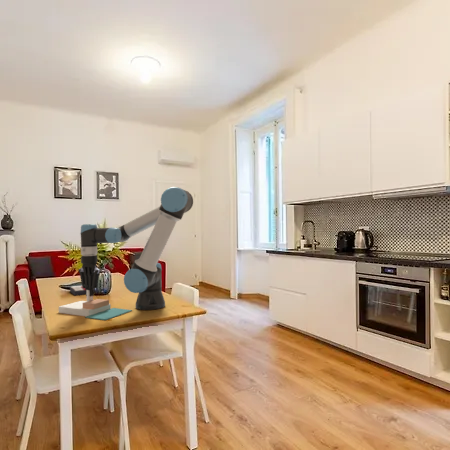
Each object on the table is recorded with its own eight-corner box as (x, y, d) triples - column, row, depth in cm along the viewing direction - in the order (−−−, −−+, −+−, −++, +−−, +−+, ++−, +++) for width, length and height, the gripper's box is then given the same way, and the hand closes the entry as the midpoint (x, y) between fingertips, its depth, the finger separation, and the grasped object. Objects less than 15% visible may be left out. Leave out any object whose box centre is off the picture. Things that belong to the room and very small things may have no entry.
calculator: (74, 290, 203) (70, 285, 215) (74, 297, 203) (70, 292, 215) (93, 288, 209) (87, 284, 221) (93, 295, 209) (87, 290, 221)
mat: (113, 308, 167) (113, 307, 167) (132, 311, 163) (132, 310, 163) (85, 317, 151) (85, 316, 151) (105, 320, 146) (105, 319, 146)
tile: (98, 303, 166) (98, 298, 166) (109, 304, 163) (108, 299, 163) (82, 308, 157) (82, 302, 157) (93, 309, 154) (93, 304, 154)
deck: (81, 306, 174) (81, 300, 174) (110, 309, 166) (110, 303, 166) (58, 312, 161) (58, 306, 161) (88, 316, 153) (88, 310, 153)
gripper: (73, 255, 162) (74, 303, 161) (93, 256, 156) (93, 305, 156) (85, 254, 168) (86, 300, 168) (104, 254, 163) (105, 302, 163)
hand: (89, 302), depth 162 cm, fingers closed
